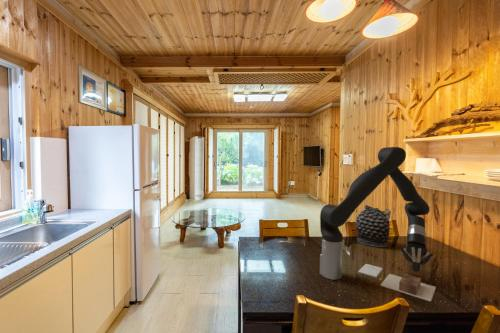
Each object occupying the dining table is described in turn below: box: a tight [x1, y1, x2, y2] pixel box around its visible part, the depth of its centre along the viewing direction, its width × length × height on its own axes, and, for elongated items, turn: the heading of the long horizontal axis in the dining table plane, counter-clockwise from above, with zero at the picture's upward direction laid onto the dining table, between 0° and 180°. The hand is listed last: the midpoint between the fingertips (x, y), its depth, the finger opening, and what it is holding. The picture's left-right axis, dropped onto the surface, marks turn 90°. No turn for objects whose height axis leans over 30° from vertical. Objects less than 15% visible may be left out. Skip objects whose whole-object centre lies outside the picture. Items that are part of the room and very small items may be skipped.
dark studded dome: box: [354, 204, 392, 248], centre depth 164 cm, size 21×15×25 cm
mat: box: [379, 273, 437, 302], centre depth 109 cm, size 18×15×1 cm
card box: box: [399, 273, 422, 295], centre depth 107 cm, size 6×4×10 cm
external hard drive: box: [357, 263, 384, 279], centre depth 124 cm, size 2×8×12 cm
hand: (415, 271), depth 111 cm, fingers closed
